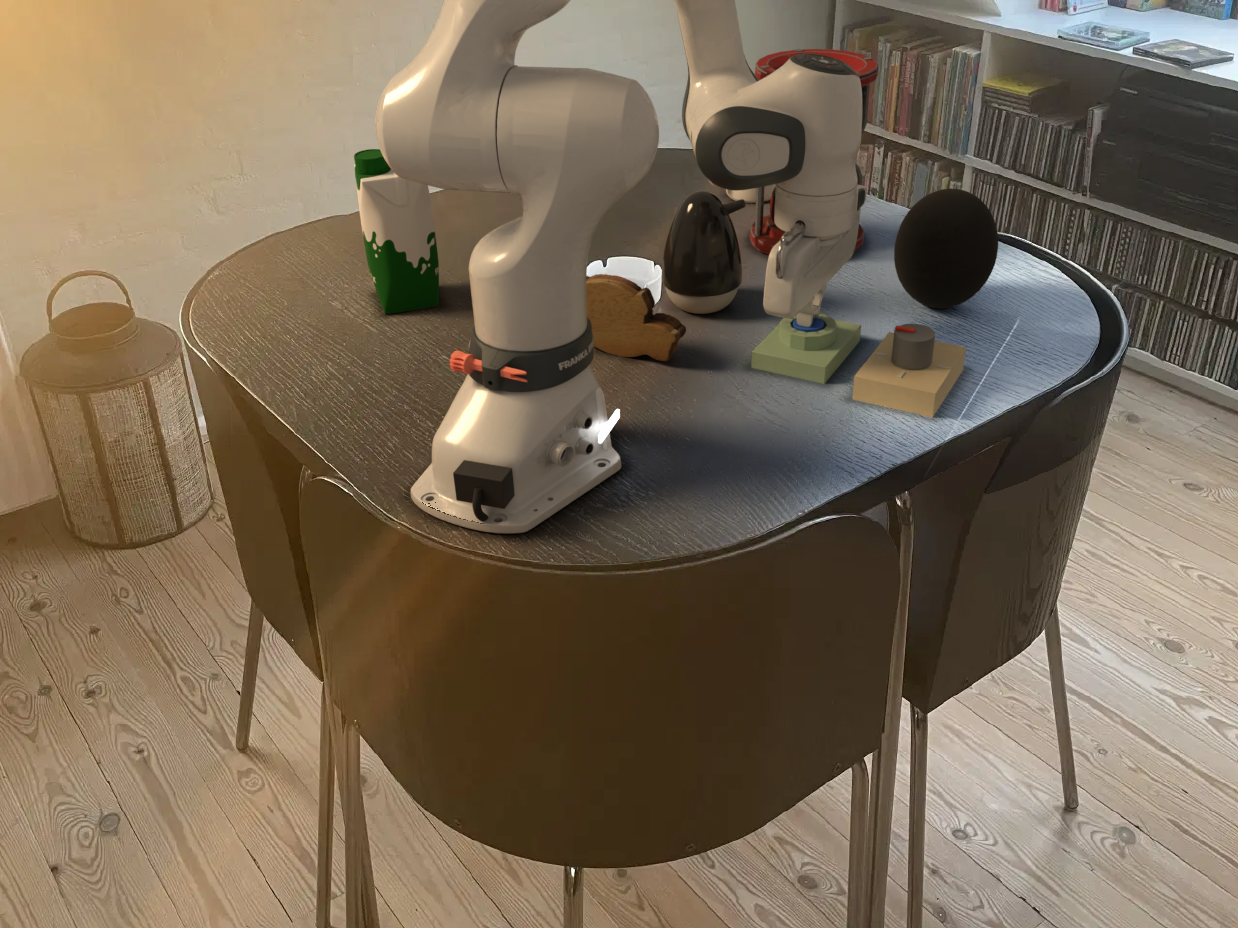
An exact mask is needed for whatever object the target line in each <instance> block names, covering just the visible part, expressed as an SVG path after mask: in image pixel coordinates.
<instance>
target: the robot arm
mask: <svg viewBox="0 0 1238 928" xmlns="http://www.w3.org/2000/svg"><path fill="white" fill-rule="evenodd" d="M570 1H571V0H443V3H442V6H441V9H440V11H439V14H438V17H437V20H436V22H435V24H434V26H433V29H432V30H431V33H430V34H429V36H428V38H427V40H426V42H425V43H424V44H423V46H422V48H421V49H420V50H419V52H418V53H417V54H416V55H415V56H414V58H412V59H411V60H410V62H409V63H408V64H406V65H405V66H404V68H402V69H401V70H400V71H398V72H397V73H396V74H394V75H393V77H392V78H391V79H390V80H389V81H388V83H387V84H386V86H385V87H384V89H383V91H382V92H381V95H380V97H379V99H378V102H377V106H376V111H375V115H374V131H375V136H376V142H377V145H378V149H380V151H381V153H382V155H383V157H384V159H385V161H386V162H387V164H388V165H389V167H390V168H391V169H392V170H393V172H394V173H395V174H396V175H397V176H399V177H401V178H404V179H407V180H410V181H414V182H417V183H421V184H425V185H428V187H429V186H430V187H433V188H437V189H440V190H446V191H463V192H485V193H502V194H503V193H504V194H513V195H517V196H519V197H520V199H521V203H522V215H520V216H518V217H517V218H515V219H513V220H510V221H507V222H505V223H503V224H501V225H500V226H499V225H498V227H495V229H493V230H491V231H489V232H487V234H485V235H484V236H483V237H482V238H481V239H480V240H479V241H478V242H477V243H476V245H475V246H474V248H473V249H472V252H471V254H470V258H469V262H468V275H469V277H468V278H469V285H470V294H471V295H470V296H471V305H472V312H473V323H474V325H473V327H472V329H471V334H470V340H469V343H468V353H465V352H464V351H461V350H455V351H453V352H452V353H451V355H450V358H449V368H450V370H452V372H457V373H464V374H465V375H466V376H465V378H464V381H463V382H462V384H461V385H460V387H459V389H458V391H457V392H456V395H455V397H454V398H453V400H452V402H451V405H450V406H449V408H448V409H447V412H446V413H445V416H444V418H443V419H442V421H441V423H440V424H439V426H438V429H437V430H436V432H435V433H434V436H433V439H432V442H431V443H432V444H431V463H430V464H429V465H428V466H427V468H425V470H424V472H423V473H422V474H421V475H420V477H418V479H417V480H416V481H415V482H414V484H413V485H412V486H411V487H410V499H411V500H412V502H413V503H414V504H415V505H416V506H417V507H418V508H419V509H420V510H422V511H423V512H425V513H427V514H429V515H430V516H432V517H434V518H437V519H439V520H441V521H444V522H447V523H449V524H453V525H456V526H459V527H463V528H466V529H470V530H475V531H479V532H485V533H492V534H523V533H526V532H529V531H530V530H532V529H533V528H535V527H536V526H539V525H540V524H541V523H543V522H544V521H545V520H547V519H548V518H550V517H552V516H554V515H555V514H556V513H558V512H560V510H562V509H563V508H565V507H567V506H568V505H569V504H571V503H573V502H574V501H575V500H577V499H578V498H580V497H581V496H583V495H584V494H586V493H587V492H589V491H590V490H592V489H594V488H595V487H596V486H599V485H600V484H601V483H603V482H604V481H605V480H608V478H610V477H611V476H613V475H614V474H617V472H618V471H620V470H621V469H622V467H623V465H622V460H621V456H620V454H619V453H618V452H617V450H615V449H614V447H613V446H612V440H611V433H610V432H611V431H612V430H613V428H614V426H615V425H616V424H617V422H618V420H619V419H620V418H621V413H620V412H621V409H619V408H616V409H615V410H614V412H613V414H612V415H611V416H610V418H608V411H607V405H606V399H605V393H604V391H603V388H602V386H601V384H600V382H599V381H598V380H599V379H598V378H597V376H596V374H595V371H594V367H593V365H592V362H593V360H594V356H595V355H594V353H595V352H594V336H593V333H592V326H591V322H590V320H589V318H588V317H587V306H586V275H587V272H588V271H587V270H588V269H587V268H588V256H589V250H590V246H591V243H592V239H593V236H594V234H595V232H596V230H597V228H598V226H599V224H600V222H601V221H602V219H603V218H604V217H605V215H606V213H608V211H609V210H610V209H611V208H612V207H613V205H614V204H615V203H617V202H618V201H619V200H620V199H621V198H622V197H624V196H625V195H627V194H628V193H629V192H631V191H632V190H634V189H635V188H636V187H637V186H638V185H639V184H640V183H641V182H642V181H643V180H644V178H645V177H646V176H647V175H648V173H649V171H650V169H651V167H652V166H653V163H654V161H655V159H656V156H657V152H658V148H659V142H660V125H659V118H658V115H657V111H656V108H655V105H654V104H653V101H652V99H651V98H650V96H649V93H648V92H647V91H646V90H645V88H644V87H643V86H642V85H641V84H640V83H639V81H638V80H636V79H634V78H630V77H626V76H622V75H618V74H615V73H610V72H606V71H602V70H597V69H594V68H589V67H558V66H557V67H555V66H519V65H515V59H516V53H517V48H518V46H519V43H520V41H521V39H522V37H523V36H524V35H525V33H526V32H527V31H528V30H529V29H530V28H532V27H534V26H537V25H538V24H540V23H542V22H544V21H546V20H549V18H552V17H553V16H555V15H557V14H558V13H560V11H562V10H563V9H564V8H565V7H566V6H567V5H569V3H570ZM673 1H674V4H675V9H676V13H677V18H678V22H679V29H680V33H681V38H682V44H683V48H684V53H685V58H686V63H687V73H688V74H687V81H686V87H685V91H684V96H683V99H682V100H683V101H682V108H681V121H682V126H683V129H684V132H685V135H686V136H687V138H688V140H689V142H690V145H691V148H692V151H693V154H694V157H695V160H696V163H697V165H698V168H699V170H700V171H701V173H702V174H703V176H704V177H705V178H706V179H707V180H708V182H709V181H711V182H712V183H713V184H715V185H717V186H719V187H721V188H724V189H723V190H726V189H728V190H736V191H737V190H747V189H753V188H759V187H764V186H769V185H773V184H776V192H775V215H774V222H775V224H776V226H777V227H778V228H780V229H781V230H783V231H785V233H784V234H783V235H782V237H781V239H780V241H779V242H778V243H777V244H776V245H775V246H774V247H773V248H772V250H771V252H770V254H769V255H768V258H767V262H766V269H765V277H764V287H763V297H762V298H763V301H762V306H763V310H764V312H765V313H766V314H767V315H770V316H774V317H778V318H782V319H783V318H790V319H792V318H794V317H795V316H796V315H797V324H798V325H800V326H805V327H810V326H811V325H812V323H813V322H814V321H815V320H816V319H817V318H818V317H819V316H820V314H821V306H822V302H823V298H824V296H825V292H826V288H827V284H828V282H830V281H831V280H832V278H833V277H834V276H835V275H836V274H837V273H838V272H839V271H840V270H841V269H842V268H843V267H844V266H845V264H846V263H847V262H848V261H849V260H850V259H851V258H852V256H853V254H854V253H853V252H854V249H855V246H856V241H857V235H858V228H859V224H860V221H861V213H862V212H861V211H862V207H863V206H864V205H865V203H866V201H867V192H868V191H867V186H866V185H863V184H862V185H858V178H857V173H856V166H855V162H856V161H857V156H858V153H859V151H860V148H861V144H862V135H863V134H862V87H861V82H860V78H859V76H858V75H857V74H856V72H855V71H854V70H853V69H852V68H851V67H850V66H849V65H848V64H846V63H845V62H843V61H841V60H838V59H835V58H833V57H829V56H825V55H819V54H799V55H794V56H792V57H790V58H789V60H788V61H787V62H786V63H785V64H784V65H783V66H781V67H780V68H779V69H777V70H776V71H774V72H773V73H771V74H770V75H768V76H766V77H765V78H763V79H761V80H759V79H758V78H757V77H756V75H755V72H754V71H753V70H752V69H751V67H750V65H749V63H748V61H747V59H746V55H745V53H744V52H745V51H744V46H743V41H742V35H741V34H742V33H741V29H740V23H739V17H738V11H737V5H736V0H673ZM861 134H862V135H861ZM856 163H857V162H856ZM422 502H423V503H424V504H423V503H422ZM435 502H436V503H435ZM428 503H430V504H428ZM425 504H426V505H425ZM430 505H431V506H430ZM428 506H430V507H433V508H435V509H436V510H435V509H432V508H430V507H428ZM437 508H438V509H437ZM437 510H440V511H441V512H439V511H437ZM442 512H445V513H446V514H444V513H442ZM447 514H449V515H447ZM450 515H451V516H450ZM453 516H456V517H457V518H456V517H453ZM459 518H461V519H459ZM463 519H466V520H463ZM467 520H468V521H467ZM472 520H473V521H475V522H479V523H475V522H471V521H472ZM480 523H485V524H480Z"/></svg>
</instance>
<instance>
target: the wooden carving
mask: <svg viewBox="0 0 1238 928" xmlns="http://www.w3.org/2000/svg"><path fill="white" fill-rule="evenodd" d="M655 305H656V302H655V298H654V295H653V293H652V291H651V289H650V288H649V287H643V288H642V287H641V286H639V285H638V284H637V283H636V282H635V281H632V280H630V279H627V278H625V277H623V276H619V275H612V274H607V273H606V274H605V273H604V274H602V273H599V274H594V275H591V276H588V275H587V274H586V306H587V317H588V318H589V320H590V322H591V326H592V333H593V336H594V346H593V348H594V347H595V348H596V349H598V350H600V351H602V352H604V353H607V354H610V355H613V356H617V357H623V358H635V357H640V356H644V355H647V356H648V357H650V358H652V359H654V360H656V361H660V362H669V361H670V360H671V358H672V356H673V355H674V353H676V351H678V346H679V341H680V340H681V339H682V338H683V337H684V336H685V335H686V332H687V327H686V326H685V324H682V322H681V321H680V320H679V319H677V317H674V316H672V315H671V314H668V313H664V312H656V313H654V309H653V308H654V307H655Z"/></svg>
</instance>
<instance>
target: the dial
mask: <svg viewBox="0 0 1238 928" xmlns="http://www.w3.org/2000/svg"><path fill="white" fill-rule="evenodd" d="M893 333H894V338H893V348H892V357H891V360H892V362H893V363H894V364H895V365H896V366H898V367H901V368H904V369H909V370H920V369H924V368H927V367H929V366H930V365H931V363H932V357H933V349H934V341H936V332H935V330H934V329H933V328H931V327H929V326H927V325H924V324H919V323H905V324H901V325H895V327H894V330H893Z"/></svg>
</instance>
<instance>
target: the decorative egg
mask: <svg viewBox="0 0 1238 928" xmlns="http://www.w3.org/2000/svg"><path fill="white" fill-rule="evenodd" d="M893 247H894V249H893V261H894V268H895V272H896V275H897V278H898V280H899V282H900V284H901V286H902V288H903V289H904V291H905V292H906V293H907V295H909V296H910V297H911V298H912V299H913V300H914V301H916V302H917V303H919V304H921V305H923V306H926V307H928V308H933V309H948V308H953V307H957V306H959V305H962V304H964V303H966V302H967V301H969V300H970V299H972V298H973V297H974V296H976V294H978V293H979V292H980V290H982V289H983V287H984V286H985V284H986V283H987V281H988V279H989V278H990V276H991V275H992V272H993V270H994V268H995V265H996V262H997V256H998V253H999V232H998V228H997V224H996V221H995V218H994V215H993V214H992V212H991V211H990V209H989V207H988V205H986V203H985V202H984V201H983V200H982V199H980V197H978V196H977V195H975V194H973V193H971V192H969V191H967V190H963V189H959V188H943V189H939V190H935V191H933V192H930V193H928V194H927V195H925V196H923V197H922V198H921V199H919V200H918V201H917V202H916V203H914V205H913V206H911V208H910V209H909V210H908V212H907V213H906V214H905V216H904V217H903V219H902V221H901V223H900V225H899V227H898V230H897V234H896V236H895V242H894V246H893Z"/></svg>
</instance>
